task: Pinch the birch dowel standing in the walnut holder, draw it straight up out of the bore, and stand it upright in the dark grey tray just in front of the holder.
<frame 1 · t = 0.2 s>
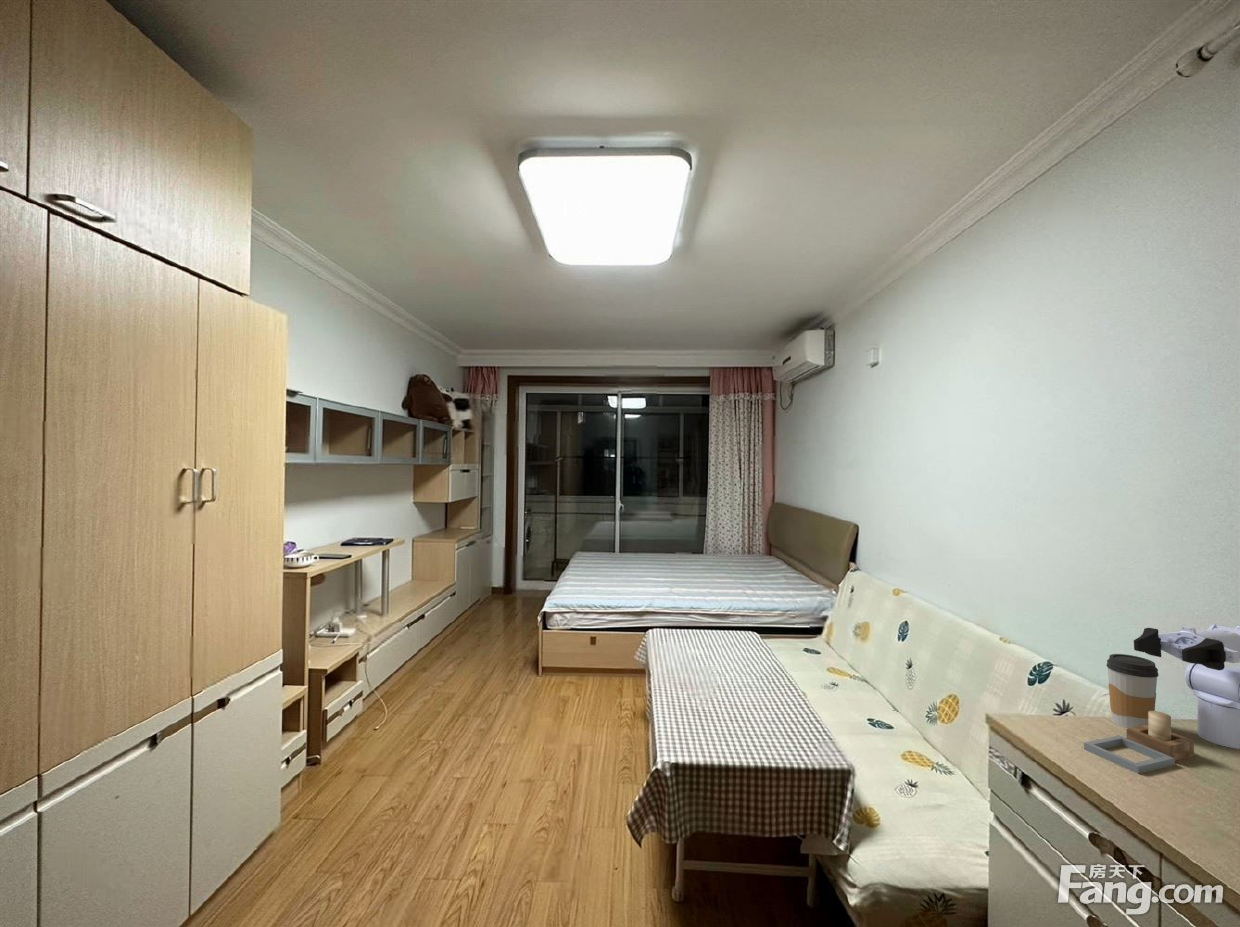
hand: (1159, 650, 107), 21 cm above the table, tool horizontal, fingers open, 7 cm apart
coffee cup: (1131, 729, 119), on the table
holder: (1159, 754, 109), on the table
tray: (1128, 762, 106), on the table
dowel: (1159, 749, 109), point 1 cm above the table, touching holder
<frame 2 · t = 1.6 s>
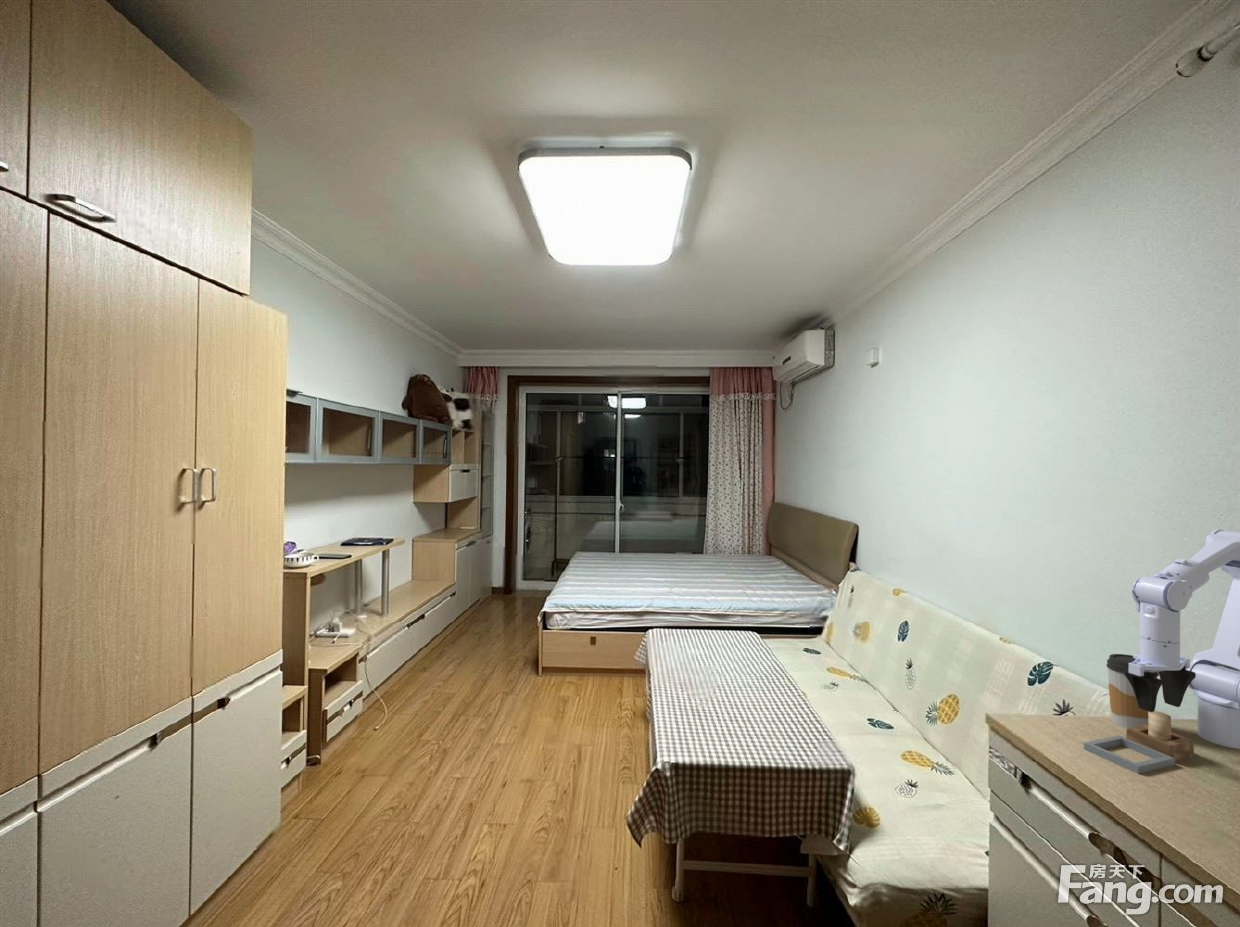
hand: (1159, 707, 109), 9 cm above the table, tool pointing down, fingers open, 7 cm apart
nothing on the table moved.
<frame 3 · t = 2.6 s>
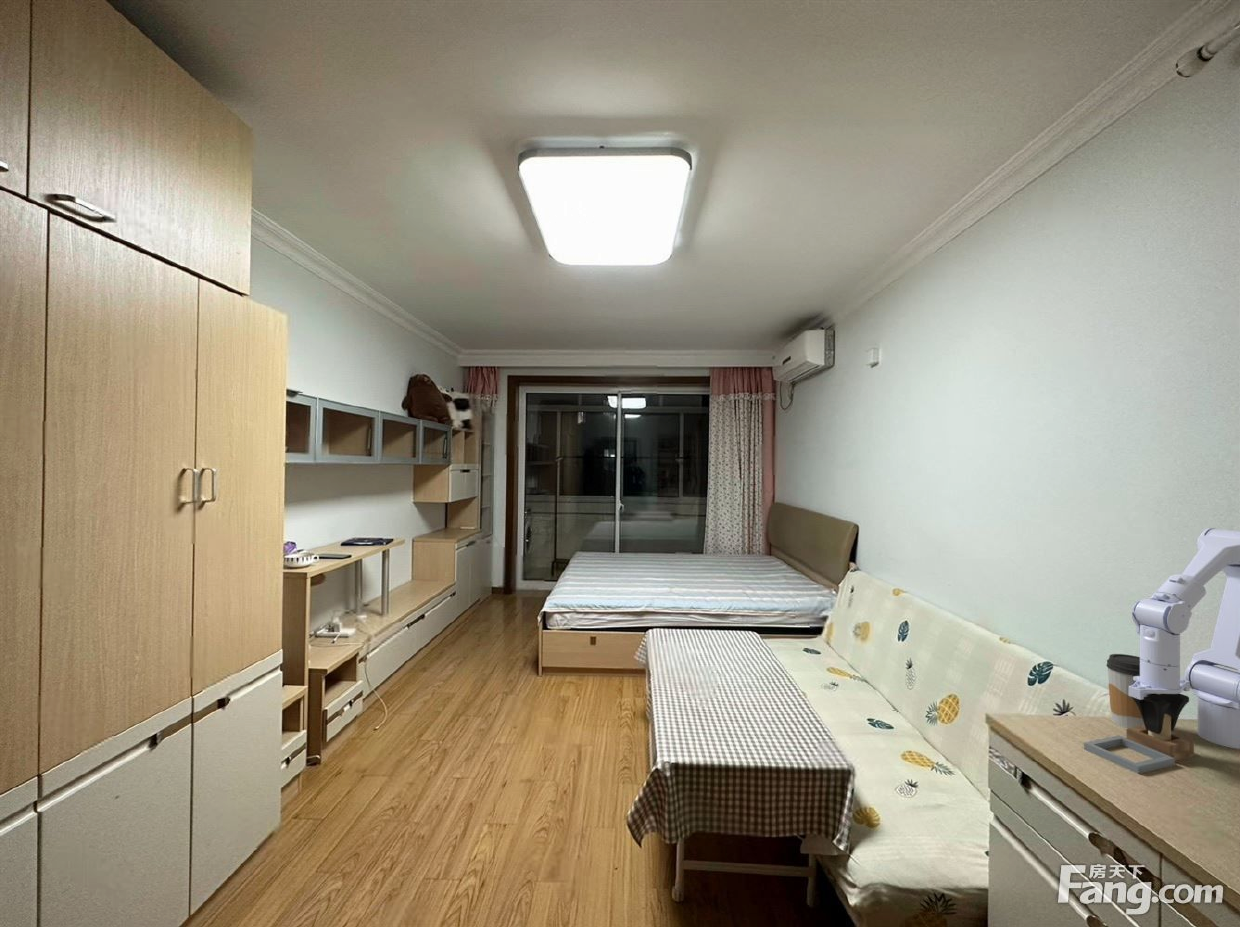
hand: (1159, 730, 109), 5 cm above the table, tool pointing down, fingers closed on dowel, 3 cm apart
dowel: (1159, 749, 109), point 1 cm above the table, touching gripper, holder
everything else where it was.
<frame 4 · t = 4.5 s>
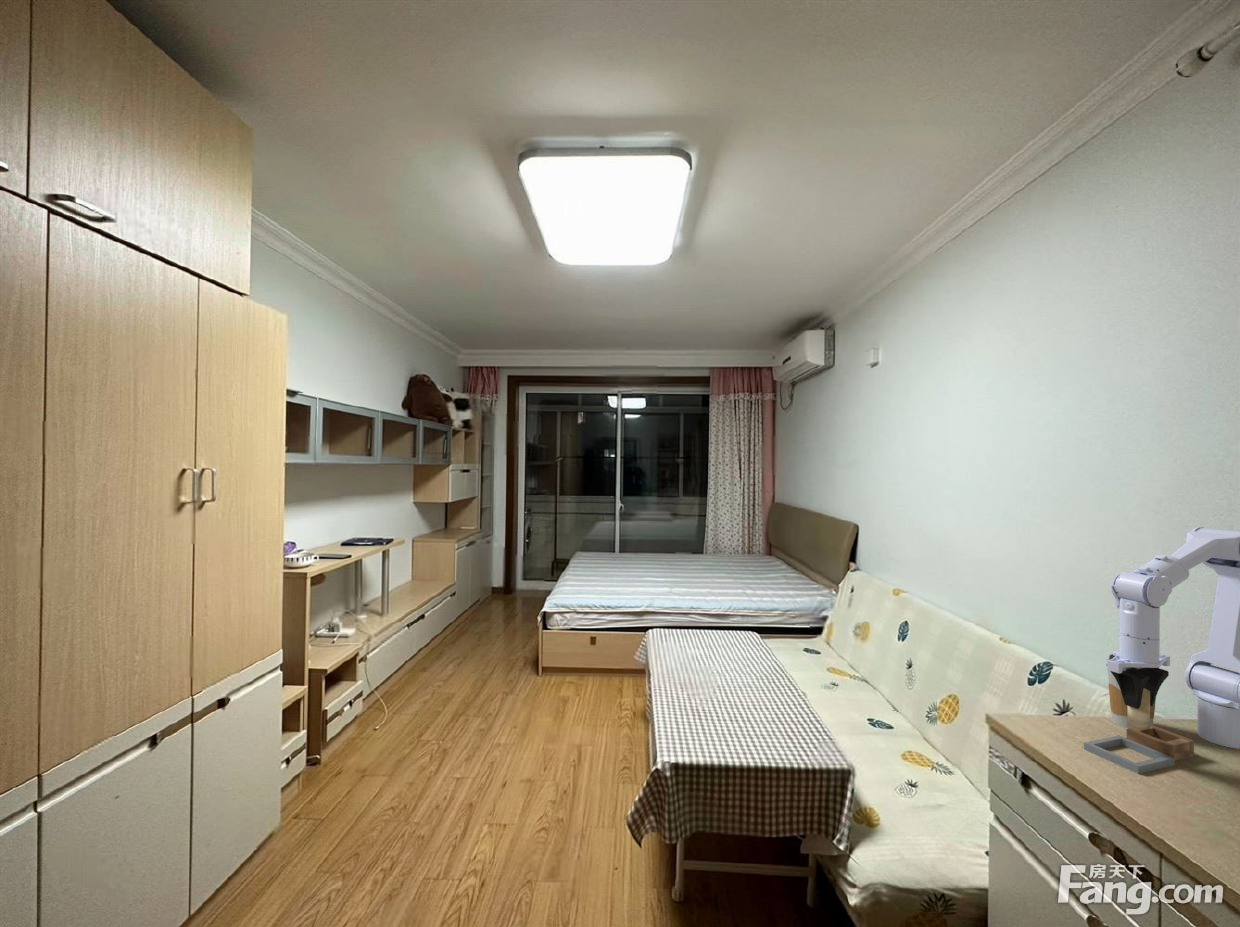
hand: (1138, 705, 107), 11 cm above the table, tool pointing down, fingers closed on dowel, 3 cm apart
dowel: (1138, 725, 107), point 7 cm above the table, touching gripper
everything else where it was.
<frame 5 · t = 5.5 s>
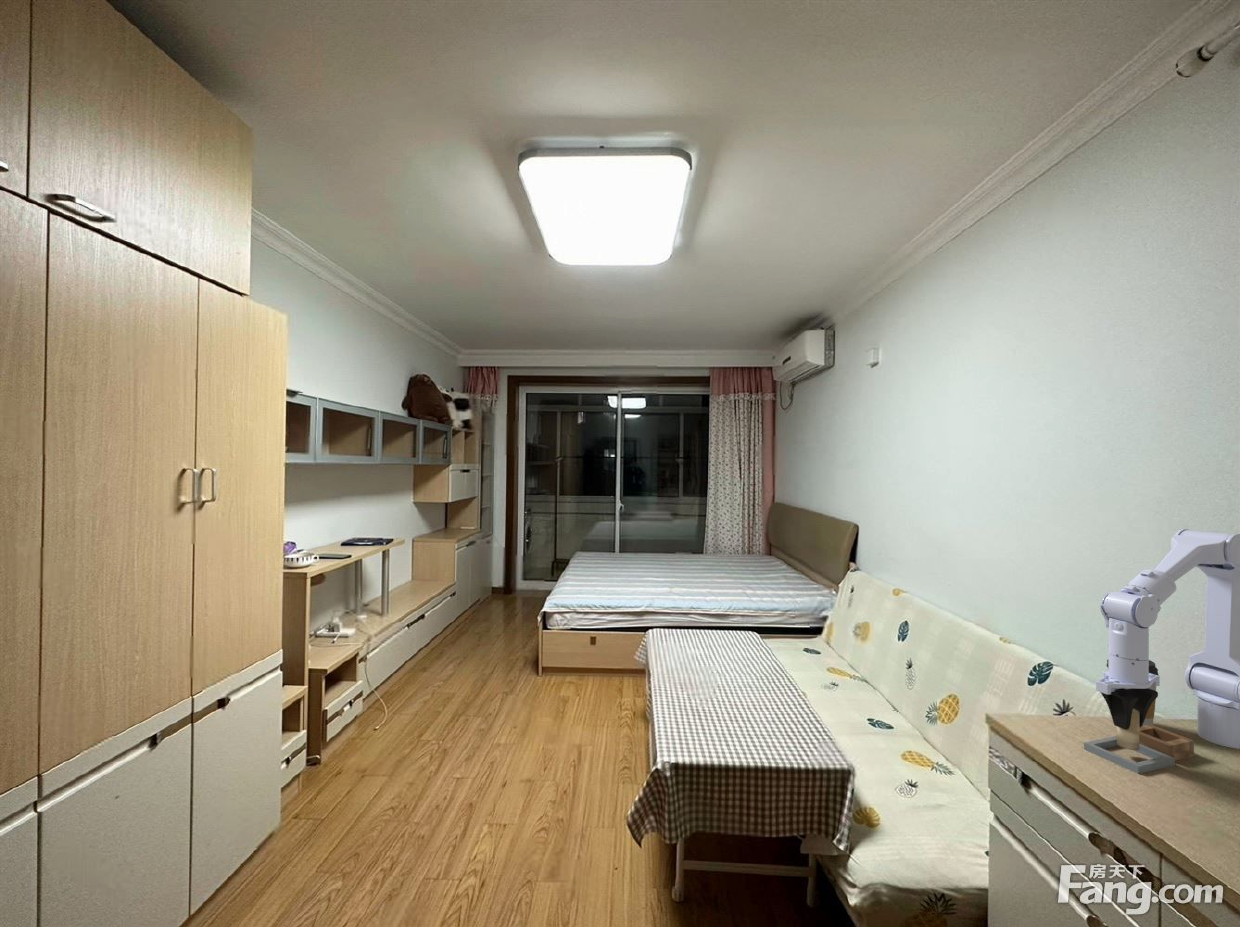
hand: (1128, 726, 106), 7 cm above the table, tool pointing down, fingers closed on dowel, 3 cm apart
dowel: (1127, 746, 106), point 3 cm above the table, touching gripper
everything else where it was.
when the fingers open (6 cm above the table, at t = 6.1 s): dowel drops 2 cm, resting on tray.
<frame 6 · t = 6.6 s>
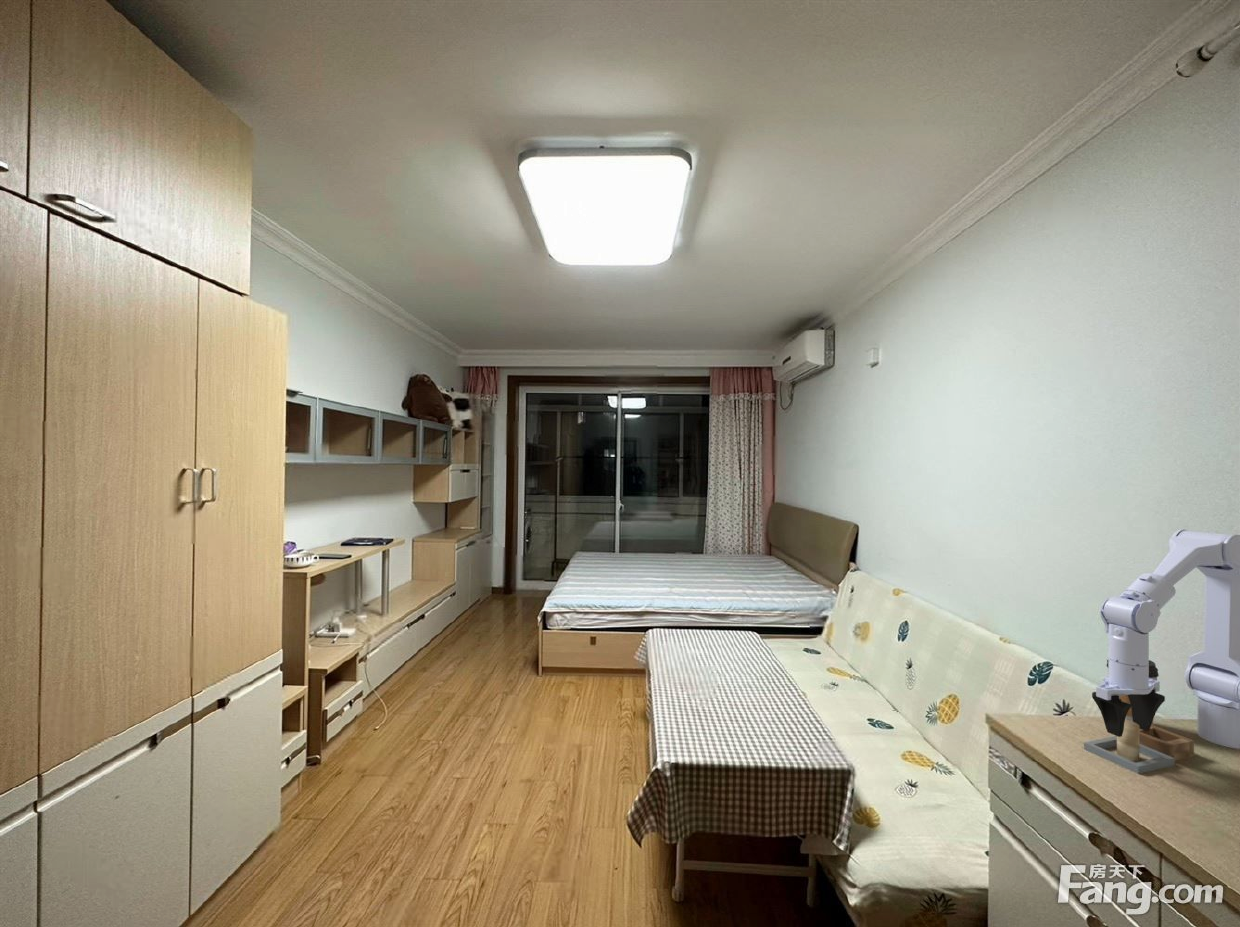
hand: (1128, 731, 106), 6 cm above the table, tool pointing down, fingers open, 7 cm apart
dowel: (1128, 759, 106), point 1 cm above the table, touching tray
everything else where it was.
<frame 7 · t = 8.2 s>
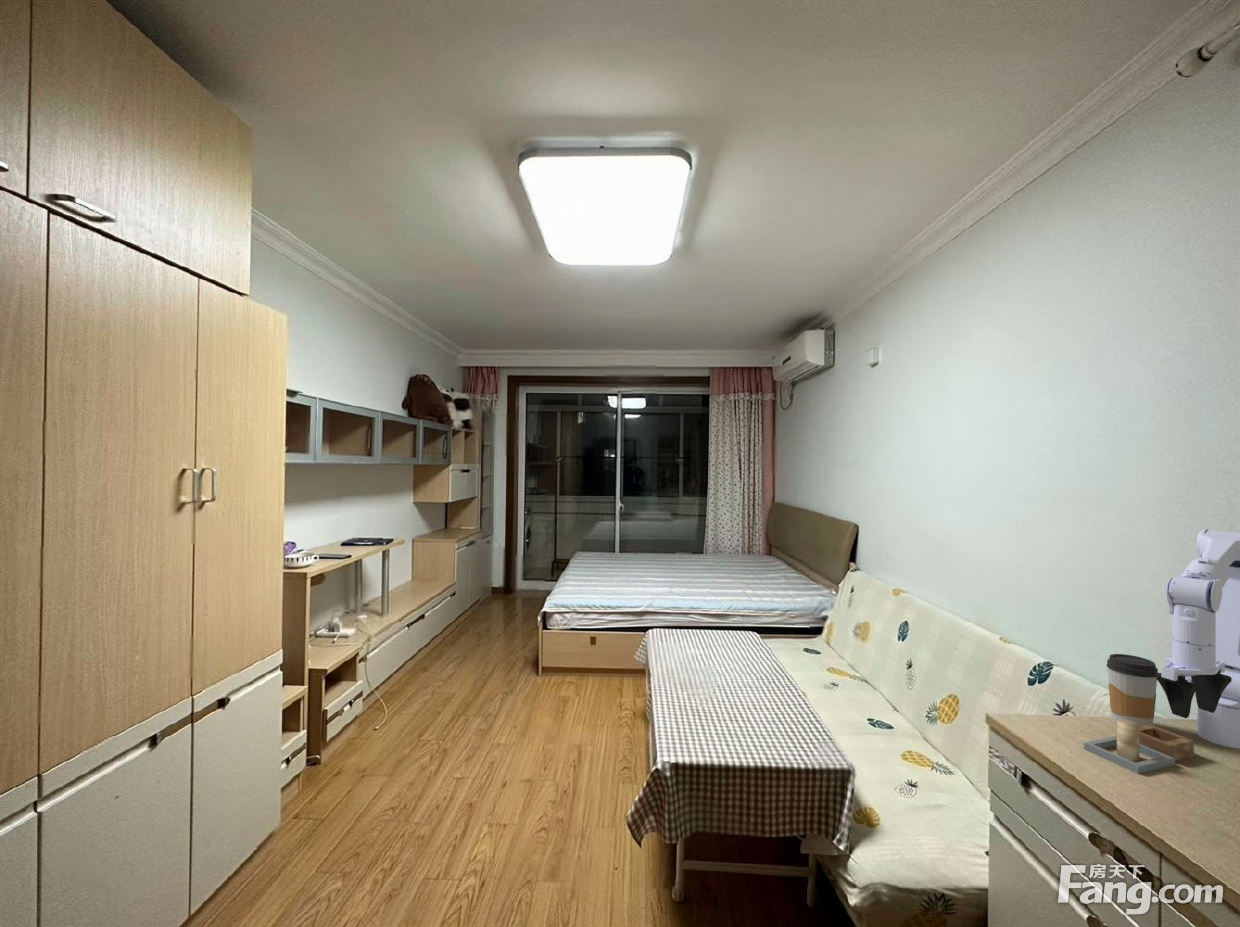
hand: (1193, 713, 104), 10 cm above the table, tool pointing down, fingers open, 7 cm apart
nothing on the table moved.
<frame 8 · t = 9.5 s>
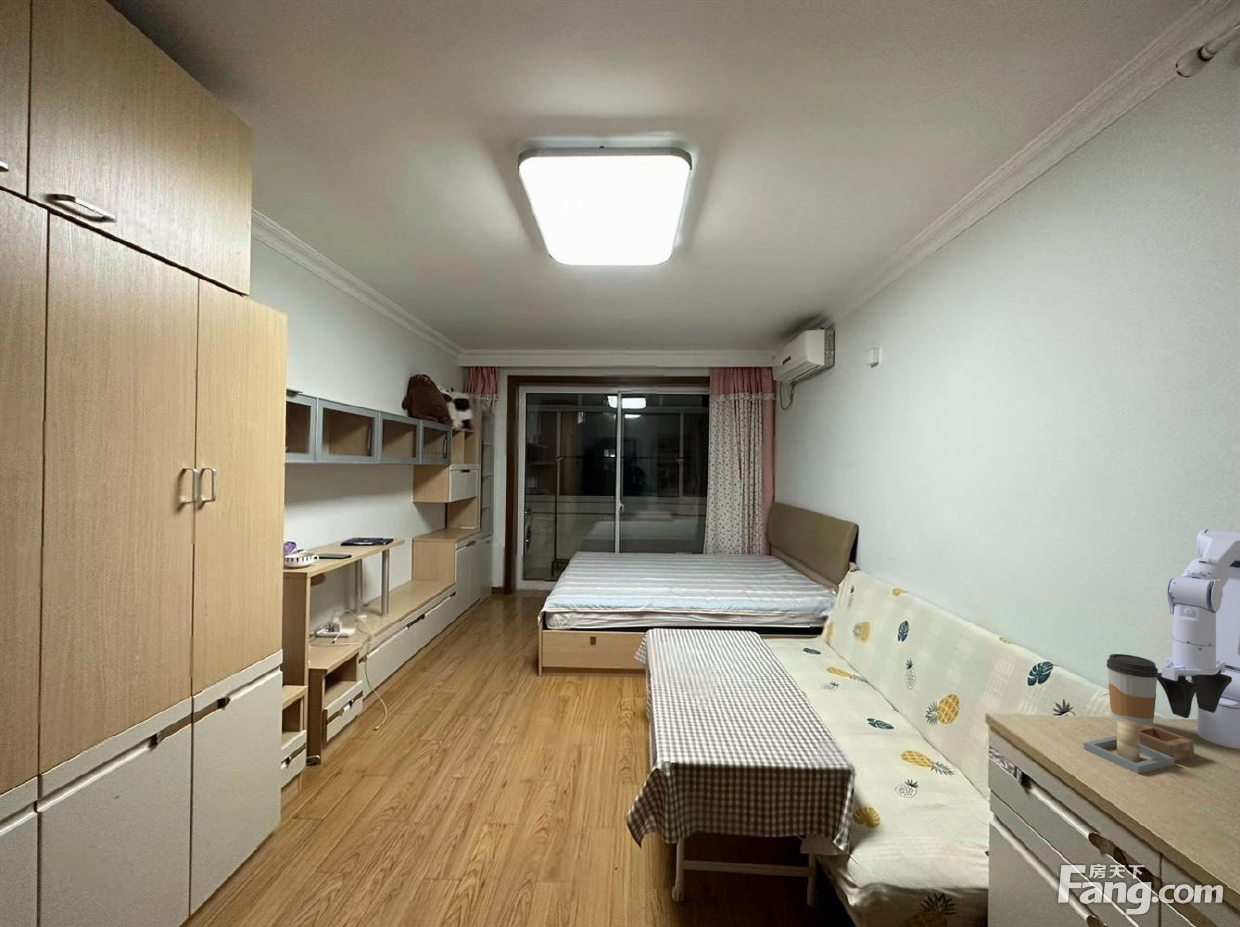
hand: (1193, 713, 104), 10 cm above the table, tool pointing down, fingers open, 7 cm apart
nothing on the table moved.
at the end: dowel inside the target area on the tray (0.0 cm from its centre), point 0.5 cm above the tray's base; dowel tilted 0°; the gripper is holding nothing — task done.
